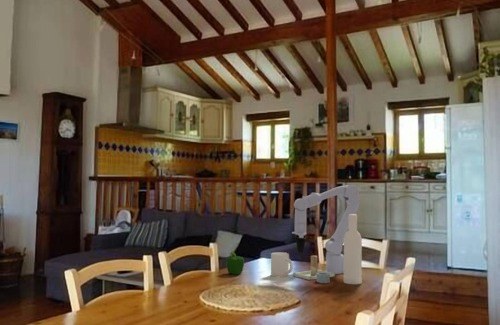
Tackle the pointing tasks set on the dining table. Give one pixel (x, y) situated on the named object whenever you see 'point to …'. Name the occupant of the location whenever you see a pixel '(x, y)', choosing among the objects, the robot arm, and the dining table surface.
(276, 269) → the mug
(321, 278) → the cup
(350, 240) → the bottle
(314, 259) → the dowel
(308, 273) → the tray
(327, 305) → the dining table surface
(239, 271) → the bell pepper
